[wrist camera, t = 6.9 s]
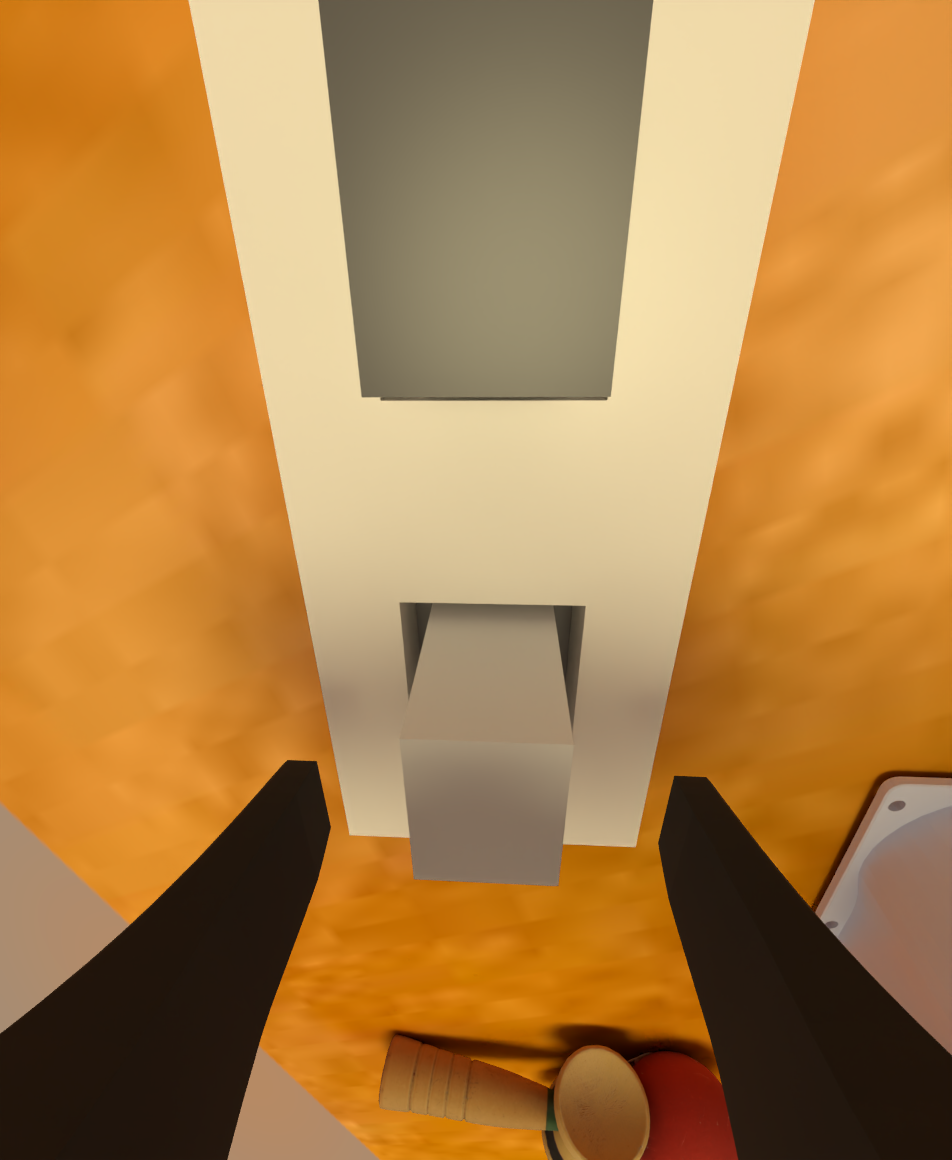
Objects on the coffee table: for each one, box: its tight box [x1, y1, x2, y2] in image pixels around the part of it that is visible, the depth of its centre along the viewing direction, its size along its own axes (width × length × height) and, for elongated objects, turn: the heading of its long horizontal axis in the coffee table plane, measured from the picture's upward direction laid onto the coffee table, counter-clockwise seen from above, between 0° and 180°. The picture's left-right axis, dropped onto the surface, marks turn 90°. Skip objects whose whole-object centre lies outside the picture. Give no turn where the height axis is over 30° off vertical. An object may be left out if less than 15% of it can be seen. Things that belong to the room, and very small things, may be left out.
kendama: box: [379, 1034, 738, 1160], centre depth 27 cm, size 8×6×18 cm
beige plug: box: [399, 603, 574, 886], centre depth 13 cm, size 4×3×6 cm
